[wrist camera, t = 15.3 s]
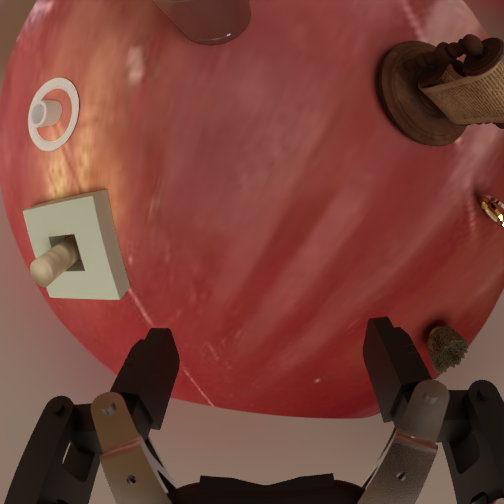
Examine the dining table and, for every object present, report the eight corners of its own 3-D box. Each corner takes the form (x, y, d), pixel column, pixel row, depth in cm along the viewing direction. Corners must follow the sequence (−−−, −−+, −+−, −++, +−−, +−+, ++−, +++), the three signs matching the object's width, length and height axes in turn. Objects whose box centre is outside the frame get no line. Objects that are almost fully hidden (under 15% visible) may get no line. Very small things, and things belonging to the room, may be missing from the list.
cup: (416, 350, 46) (431, 379, 39) (418, 322, 43) (436, 351, 36) (448, 337, 45) (465, 363, 38) (451, 309, 42) (471, 335, 35)
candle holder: (48, 165, 36) (32, 169, 32) (23, 114, 32) (6, 116, 28) (93, 114, 33) (76, 114, 29) (63, 63, 29) (47, 60, 25)
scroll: (354, 97, 31) (439, 71, 12) (402, 26, 25) (486, -23, 7) (433, 165, 33) (534, 204, 15) (473, 94, 28) (570, 97, 9)
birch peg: (68, 233, 40) (26, 261, 30) (85, 231, 40) (43, 260, 30) (74, 255, 42) (36, 287, 32) (91, 254, 41) (53, 287, 31)
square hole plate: (37, 204, 38) (22, 210, 35) (107, 189, 37) (92, 195, 33) (61, 286, 45) (50, 297, 41) (130, 286, 43) (120, 299, 40)
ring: (468, 197, 34) (499, 213, 27) (478, 183, 33) (510, 197, 26) (485, 226, 36) (513, 244, 28) (494, 212, 34) (524, 229, 27)
